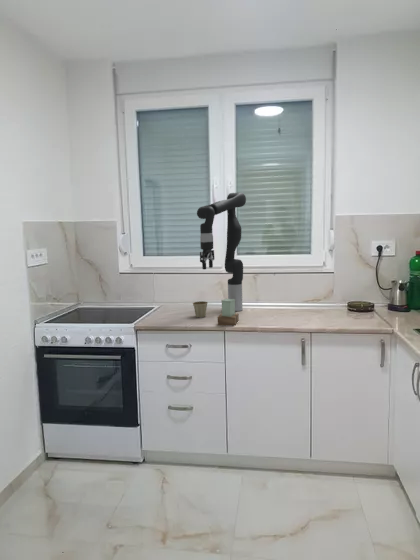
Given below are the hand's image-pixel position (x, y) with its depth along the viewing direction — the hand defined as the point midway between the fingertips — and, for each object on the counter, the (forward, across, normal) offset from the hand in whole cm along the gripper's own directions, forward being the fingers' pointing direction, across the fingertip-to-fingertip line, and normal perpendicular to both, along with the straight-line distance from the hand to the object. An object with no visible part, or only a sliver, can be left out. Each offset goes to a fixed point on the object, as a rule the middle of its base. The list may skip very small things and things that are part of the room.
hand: (207, 268), depth 248 cm
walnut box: (+30, +8, +16) cm, 35 cm away
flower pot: (+30, -2, -7) cm, 31 cm away
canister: (+25, +8, +16) cm, 31 cm away
